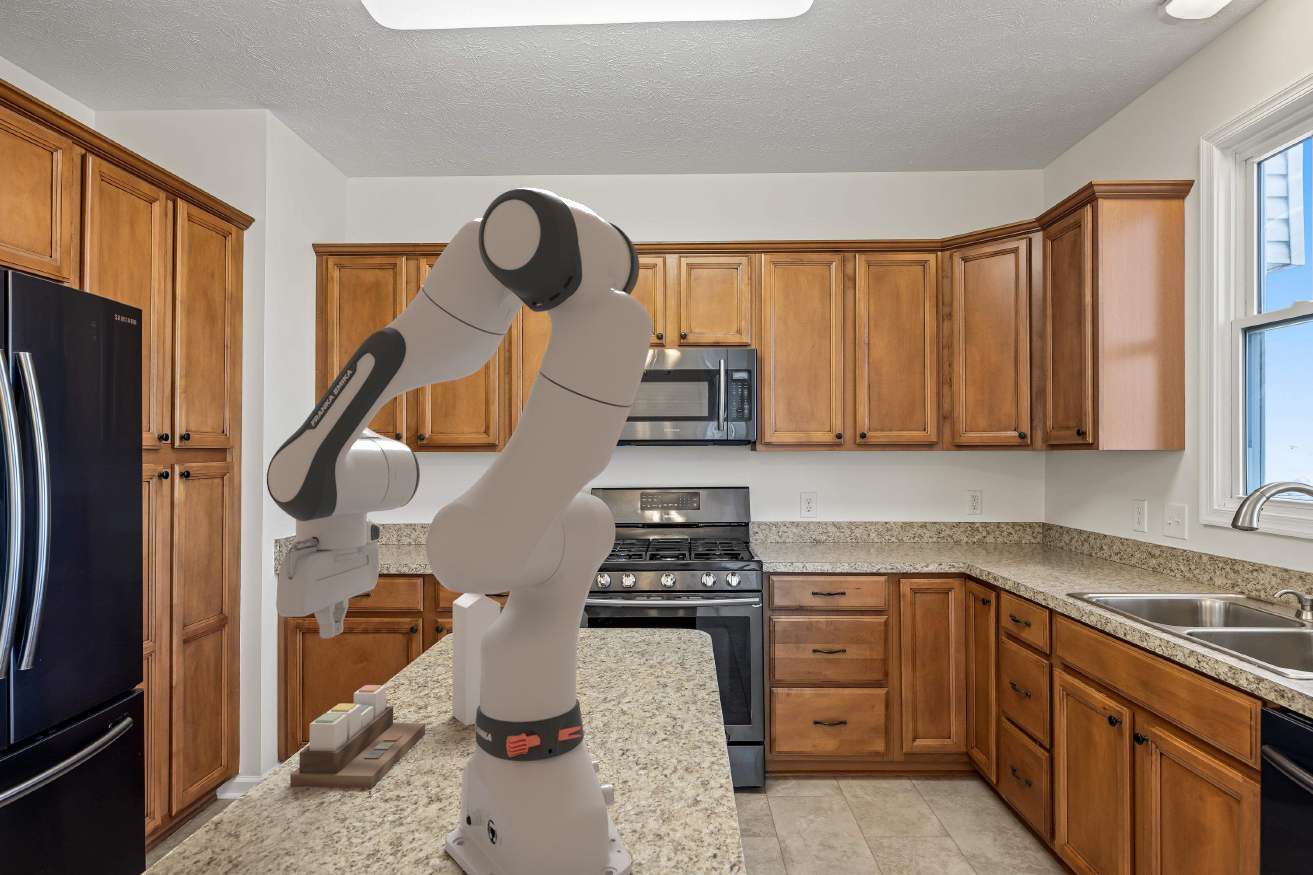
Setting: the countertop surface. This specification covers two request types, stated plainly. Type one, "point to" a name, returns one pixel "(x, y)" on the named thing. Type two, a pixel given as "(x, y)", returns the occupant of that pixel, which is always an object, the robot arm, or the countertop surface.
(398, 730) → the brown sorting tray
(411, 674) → the countertop surface
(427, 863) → the countertop surface
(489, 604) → the milk
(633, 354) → the robot arm
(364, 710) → the key slate
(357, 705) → the key mustard
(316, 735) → the key sage
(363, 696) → the key terracotta
